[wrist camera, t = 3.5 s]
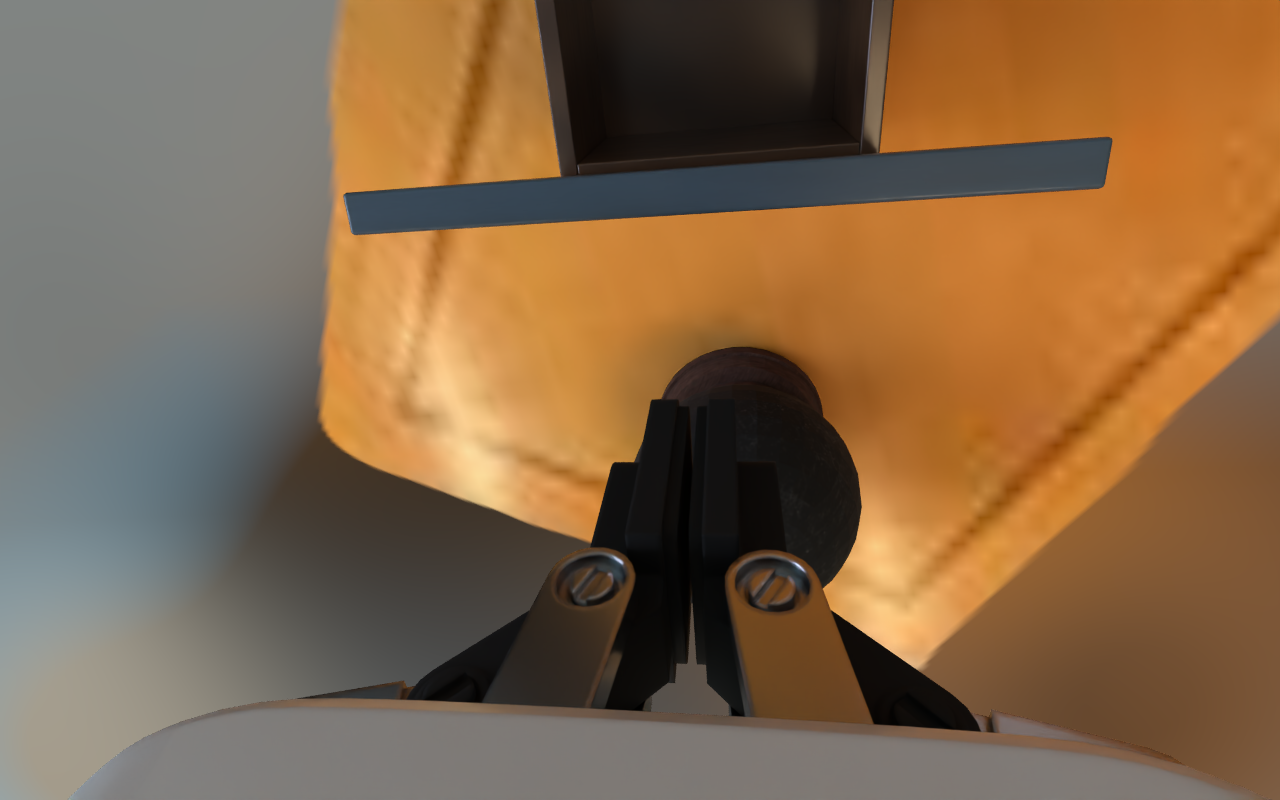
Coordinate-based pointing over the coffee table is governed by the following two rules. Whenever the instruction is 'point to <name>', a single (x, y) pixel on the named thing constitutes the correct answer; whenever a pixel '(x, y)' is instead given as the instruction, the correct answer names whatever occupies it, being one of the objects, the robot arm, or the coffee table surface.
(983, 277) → the coffee table surface
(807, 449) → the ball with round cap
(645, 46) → the brown box
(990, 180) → the blue-grey square panel
